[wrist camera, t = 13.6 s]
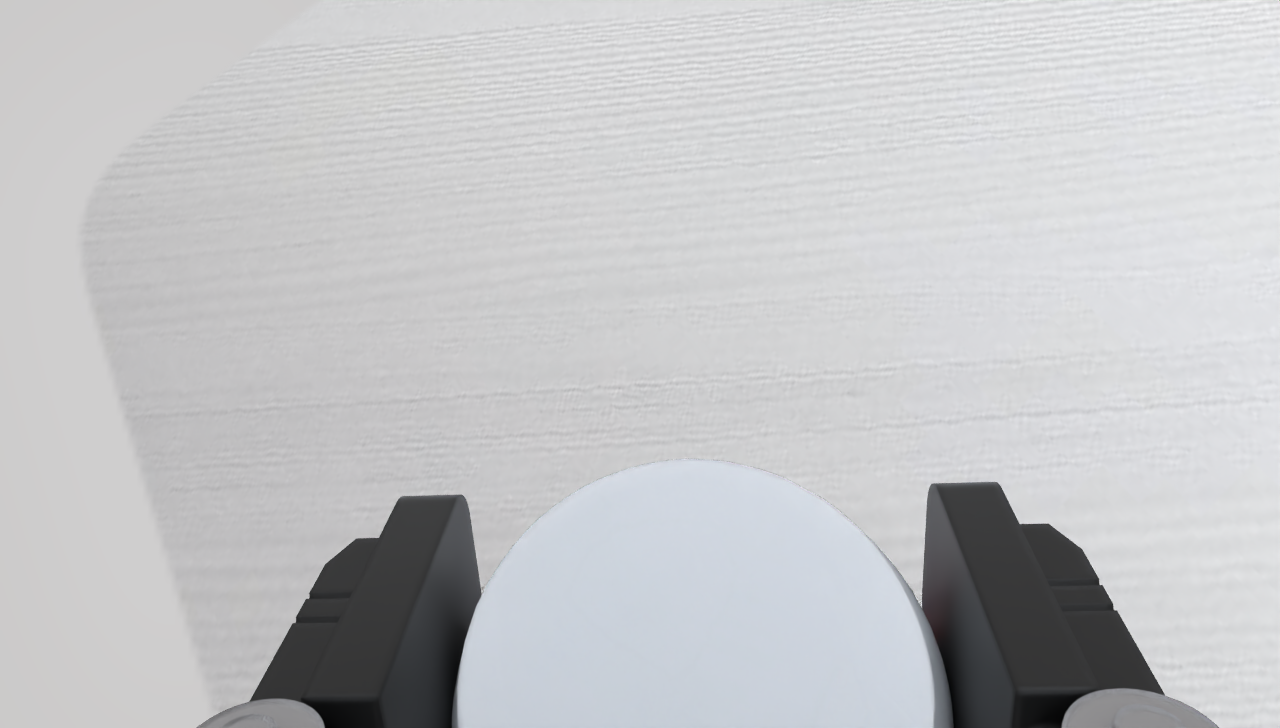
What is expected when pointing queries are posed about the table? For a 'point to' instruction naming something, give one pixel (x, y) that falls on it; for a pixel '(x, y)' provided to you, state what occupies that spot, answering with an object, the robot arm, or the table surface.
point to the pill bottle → (698, 614)
